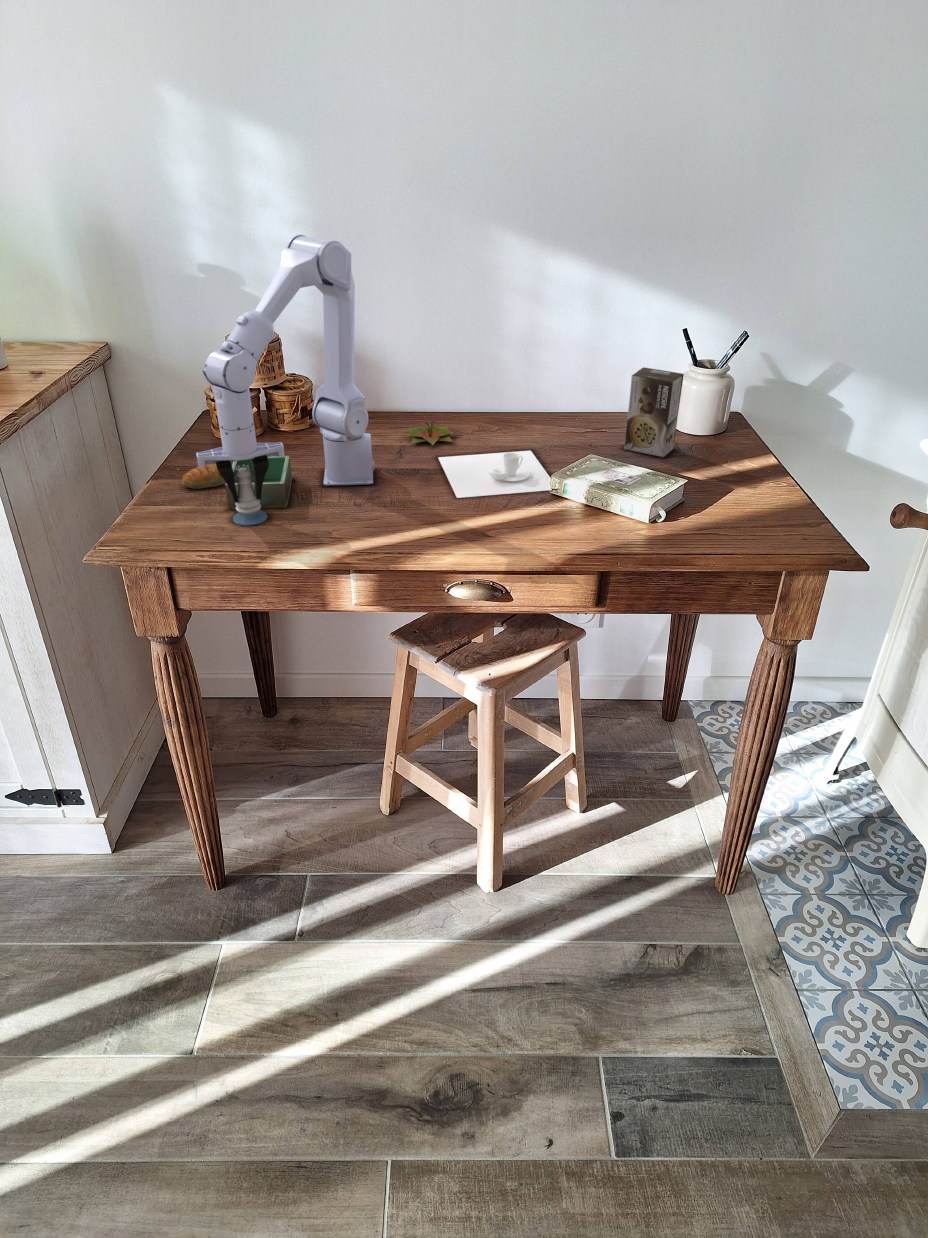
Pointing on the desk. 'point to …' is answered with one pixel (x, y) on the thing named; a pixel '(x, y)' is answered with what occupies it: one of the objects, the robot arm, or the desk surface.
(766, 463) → the desk surface
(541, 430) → the desk surface
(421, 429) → the lily flower
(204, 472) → the pastry
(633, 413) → the coffee box
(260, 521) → the tile coaster
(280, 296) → the robot arm
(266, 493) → the open box
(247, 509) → the rook chess piece
